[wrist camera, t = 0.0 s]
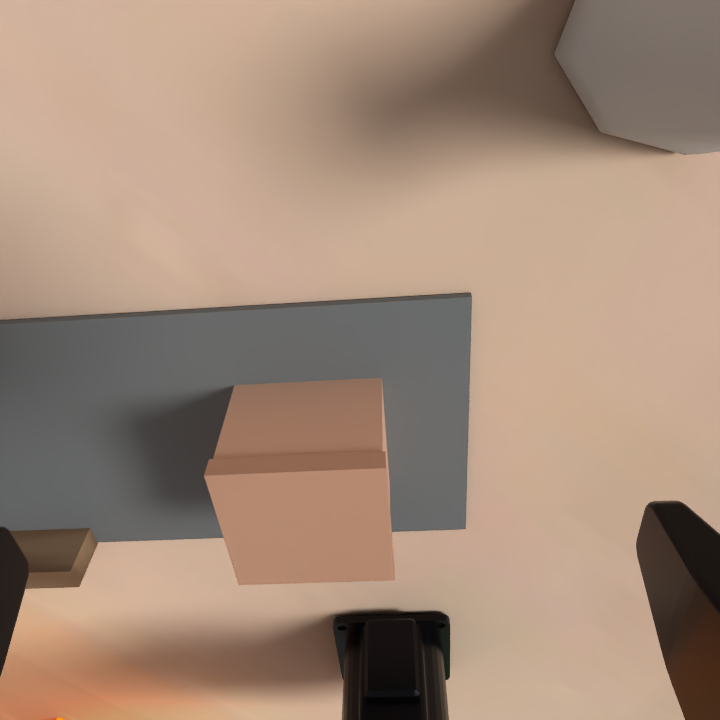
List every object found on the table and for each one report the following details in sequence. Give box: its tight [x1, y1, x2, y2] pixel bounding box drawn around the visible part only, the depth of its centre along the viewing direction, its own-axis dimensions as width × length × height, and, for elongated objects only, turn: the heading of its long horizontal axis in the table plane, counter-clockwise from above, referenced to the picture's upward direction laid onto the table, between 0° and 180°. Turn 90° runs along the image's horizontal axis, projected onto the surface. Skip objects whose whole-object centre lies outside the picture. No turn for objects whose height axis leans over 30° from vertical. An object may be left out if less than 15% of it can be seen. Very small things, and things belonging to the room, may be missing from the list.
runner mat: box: [0, 293, 472, 542], centre depth 28 cm, size 13×32×1 cm, turn 95°
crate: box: [204, 378, 395, 585], centre depth 25 cm, size 6×6×5 cm
